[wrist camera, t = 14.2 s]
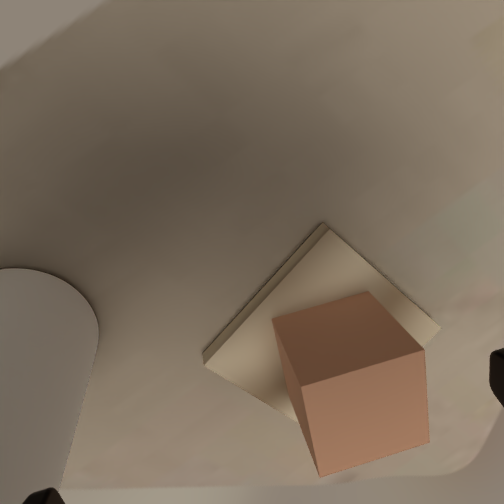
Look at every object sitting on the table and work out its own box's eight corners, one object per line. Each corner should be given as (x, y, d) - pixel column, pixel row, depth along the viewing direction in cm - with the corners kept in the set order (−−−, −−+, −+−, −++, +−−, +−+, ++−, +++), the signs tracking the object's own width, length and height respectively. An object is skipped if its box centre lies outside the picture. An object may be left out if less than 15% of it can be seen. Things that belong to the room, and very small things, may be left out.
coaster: (202, 353, 22) (203, 365, 21) (322, 222, 20) (329, 228, 19) (320, 426, 25) (326, 439, 24) (431, 318, 23) (441, 328, 22)
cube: (289, 397, 22) (319, 477, 18) (271, 318, 20) (300, 387, 16) (377, 370, 23) (429, 442, 18) (368, 291, 21) (424, 349, 16)
